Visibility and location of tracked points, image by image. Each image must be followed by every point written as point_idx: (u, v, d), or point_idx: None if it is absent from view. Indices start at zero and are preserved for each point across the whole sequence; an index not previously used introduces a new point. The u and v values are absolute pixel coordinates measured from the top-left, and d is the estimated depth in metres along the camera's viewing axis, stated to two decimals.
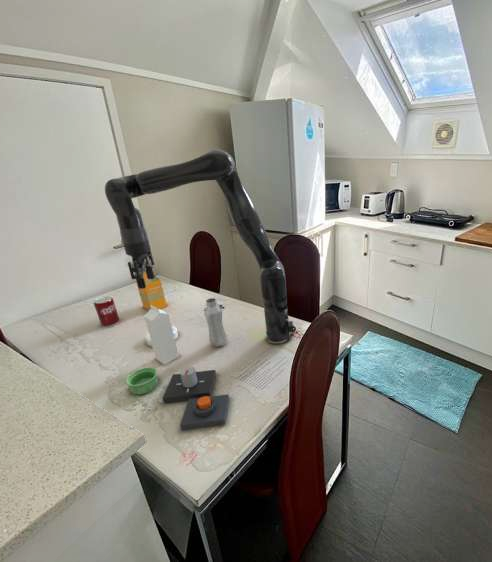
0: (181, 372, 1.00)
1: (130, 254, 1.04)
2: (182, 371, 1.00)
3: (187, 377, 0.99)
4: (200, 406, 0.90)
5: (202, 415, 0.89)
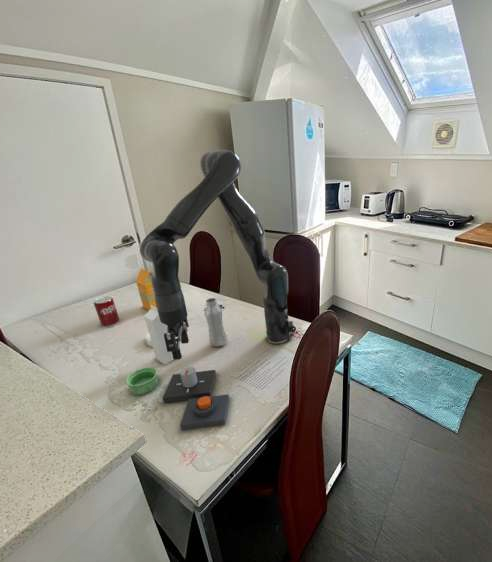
0: (181, 372, 1.00)
1: (166, 323, 0.90)
2: (182, 371, 1.00)
3: (187, 377, 0.99)
4: (200, 406, 0.90)
5: (202, 415, 0.89)
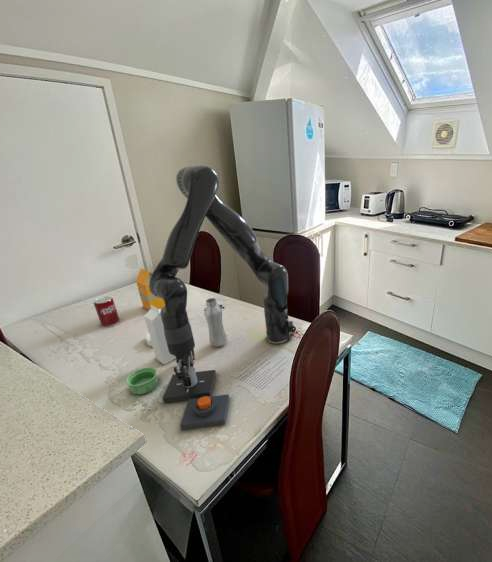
0: None
1: (174, 354, 0.93)
2: None
3: None
4: (200, 406, 0.90)
5: (202, 415, 0.89)
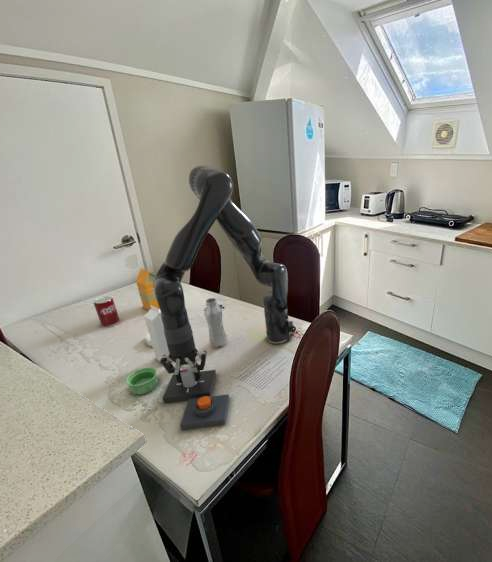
0: (187, 367, 1.02)
1: None
2: (188, 367, 1.02)
3: None
4: (200, 406, 0.90)
5: (202, 415, 0.89)
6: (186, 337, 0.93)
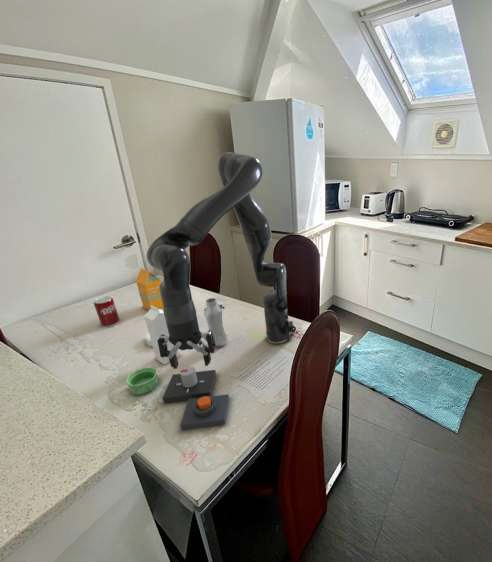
0: (187, 367, 1.02)
1: None
2: (188, 367, 1.02)
3: None
4: (200, 406, 0.90)
5: (202, 415, 0.89)
6: (189, 317, 0.80)
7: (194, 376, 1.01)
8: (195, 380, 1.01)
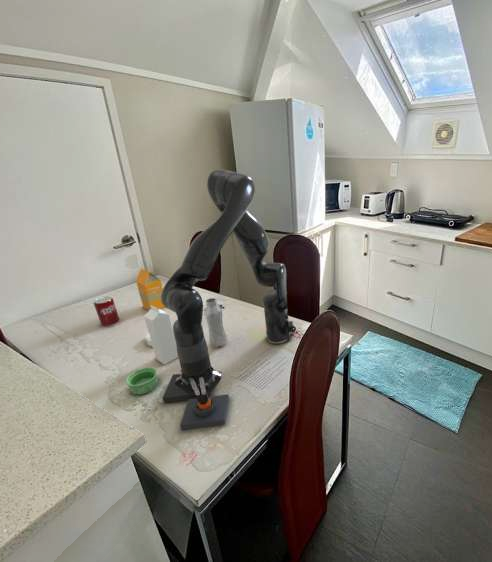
0: None
1: None
2: None
3: None
4: (200, 407, 0.90)
5: (202, 415, 0.89)
6: (201, 355, 0.82)
7: None
8: None
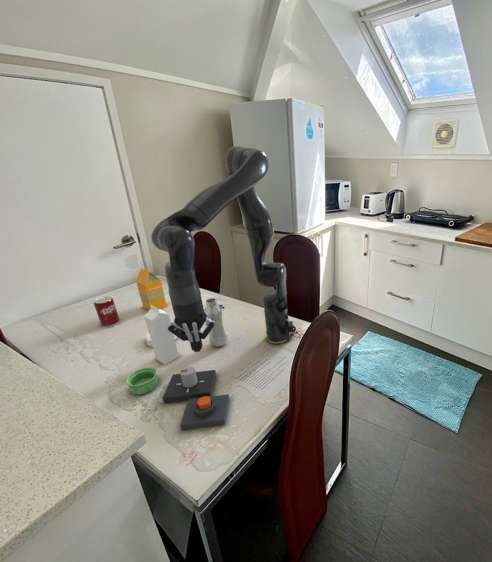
0: (187, 367, 1.02)
1: None
2: (188, 367, 1.02)
3: None
4: (200, 406, 0.90)
5: (202, 415, 0.89)
6: (194, 298, 0.82)
7: (194, 376, 1.01)
8: (195, 380, 1.01)
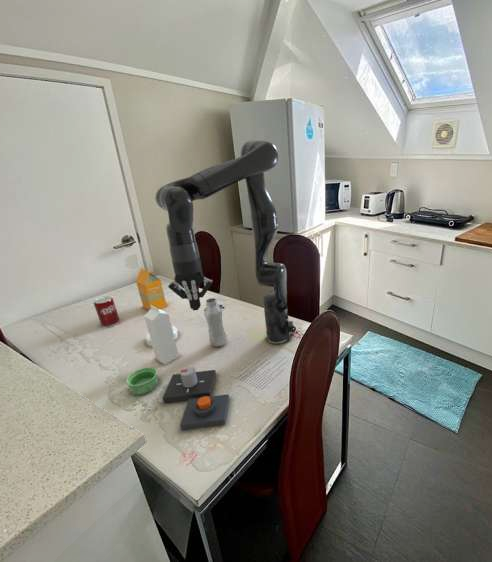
0: (187, 367, 1.02)
1: None
2: (188, 367, 1.02)
3: None
4: (200, 406, 0.90)
5: (202, 415, 0.89)
6: (193, 256, 0.89)
7: (194, 376, 1.01)
8: (195, 380, 1.01)
